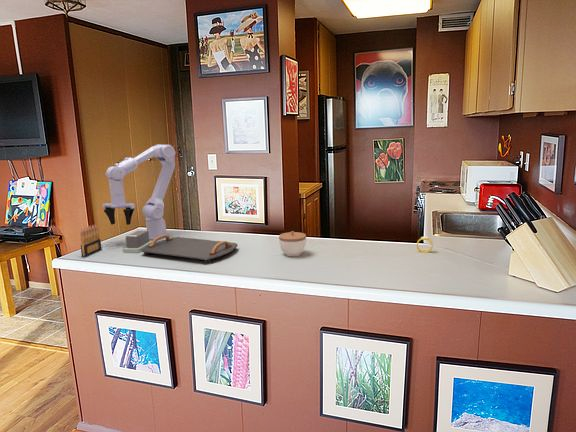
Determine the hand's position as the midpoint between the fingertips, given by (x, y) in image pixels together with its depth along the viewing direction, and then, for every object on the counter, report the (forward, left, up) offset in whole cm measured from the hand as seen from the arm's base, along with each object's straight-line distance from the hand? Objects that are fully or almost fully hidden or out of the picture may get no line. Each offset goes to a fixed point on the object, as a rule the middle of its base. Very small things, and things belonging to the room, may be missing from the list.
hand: (120, 224), depth 202 cm
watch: (-1, +130, -10) cm, 130 cm away
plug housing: (+5, +11, -8) cm, 14 cm away
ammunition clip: (+14, -6, -10) cm, 18 cm away
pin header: (+5, +11, -9) cm, 15 cm away
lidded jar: (+7, +79, -10) cm, 80 cm away
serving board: (+8, +36, -10) cm, 38 cm away
